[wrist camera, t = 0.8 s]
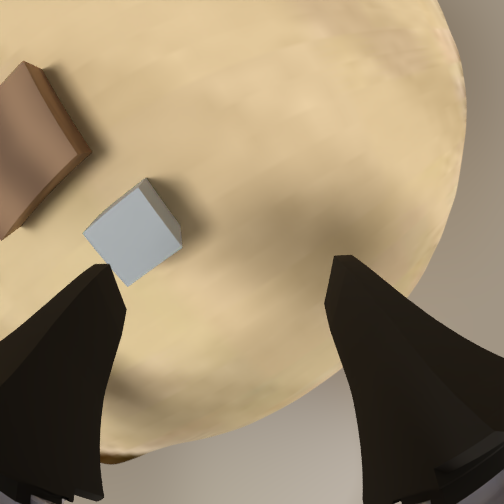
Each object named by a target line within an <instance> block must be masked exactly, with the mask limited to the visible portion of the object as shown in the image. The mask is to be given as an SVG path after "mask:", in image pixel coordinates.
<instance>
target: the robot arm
mask: <svg viewBox="0 0 504 504" xmlns="http://www.w3.org/2000/svg"><path fill="white" fill-rule="evenodd" d="M324 305H325V309H326V314H327V319H328V323H329V327H330V331H331V334H332V337H333V340H334V343H335V345H336V348H337V351H338V354H339V357H340V360H341V362H342V365H343V368H344V371H345V374H346V377H347V380H348V383H349V386H350V390H351V393H352V397H353V402H354V407H355V412H356V418H357V424H358V431H359V438H360V446H361V456H362V471H363V504H394V503H397V502H399V501H401V502H402V504H504V358H503V357H500V356H498V355H496V354H494V353H492V352H490V351H488V350H486V349H484V348H482V347H480V346H478V345H476V344H474V343H473V342H471V341H469V340H467V339H466V338H464V337H462V336H460V335H459V334H457V333H456V332H454V331H452V330H451V329H449V328H448V327H446V326H445V325H443V324H442V323H440V322H439V321H437V320H435V319H434V318H433V317H431V316H430V315H428V314H427V313H426V312H424V311H423V310H422V309H420V308H419V307H418V306H416V305H415V304H414V303H412V302H411V301H410V300H408V299H407V298H406V297H405V296H403V295H402V294H401V293H400V292H398V291H397V290H396V289H395V288H393V287H392V286H391V285H390V284H388V283H387V282H386V281H385V280H383V279H382V278H381V277H380V276H378V275H377V274H376V273H375V272H374V271H372V270H371V269H370V268H369V267H367V266H366V265H365V264H363V263H362V262H361V261H359V260H358V259H357V258H355V257H354V256H352V255H340V256H334V259H333V264H332V269H331V274H330V279H329V284H328V289H327V293H326V298H325V302H324ZM126 310H127V309H126V307H125V304H124V302H123V299H122V297H121V294H120V291H119V289H118V286H117V283H116V280H115V278H114V275H113V272H112V269H111V266H110V264H94V265H93V266H91V267H90V268H88V269H87V270H86V271H84V272H83V273H82V274H80V275H79V276H78V277H77V278H76V279H74V280H73V281H72V282H71V283H70V284H68V285H67V286H66V287H65V288H64V289H63V290H61V291H60V292H59V293H58V294H57V295H56V296H55V297H53V298H52V299H51V300H50V301H49V302H48V303H47V304H45V305H44V306H43V307H42V308H41V309H40V310H38V311H37V312H36V313H35V314H34V315H33V316H31V317H30V318H29V319H28V320H27V321H26V322H24V323H23V324H22V325H21V326H20V327H18V328H17V329H16V330H15V331H13V332H12V333H11V334H9V335H8V336H7V337H5V338H4V339H3V340H1V341H0V504H64V501H65V500H67V501H69V502H73V500H74V495H77V496H80V497H83V498H86V499H90V500H93V501H99V500H101V499H103V498H104V493H103V486H102V479H101V470H100V427H101V416H102V407H103V400H104V395H105V390H106V386H107V383H108V379H109V376H110V372H111V369H112V365H113V362H114V359H115V355H116V352H117V349H118V346H119V342H120V339H121V336H122V331H123V326H124V321H125V315H126Z"/></svg>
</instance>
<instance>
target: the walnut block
mask: <svg viewBox="0 0 504 504" xmlns="http://www.w3.org/2000/svg"><path fill="white" fill-rule="evenodd" d="M91 153H92V151H91V149H90V148H89V146H88V145H87V143H86V142H85V140H84V139H83V137H82V136H81V134H80V132H79V131H78V129H77V128H76V126H75V125H74V123H73V122H72V120H71V118H70V117H69V115H68V113H67V112H66V110H65V109H64V107H63V105H62V104H61V102H60V100H59V99H58V97H57V95H56V93H55V92H54V90H53V88H52V87H51V85H50V83H49V81H48V79H47V78H46V76H45V74H44V72H43V70H42V69H40V68H38V67H36V66H34V65H32V64H29V63H27V62H25V61H22V62H21V63H20V64H19V65H18V66H17V67H16V69H15V70H14V71H13V72H12V73H11V74H10V75H9V76H8V77H7V78H6V79H5V81H4V82H3V83H2V84H1V85H0V239H1V241H2V240H3V239H4V238H6V237H7V236H8V235H10V234H11V233H12V232H14V231H15V230H16V229H18V228H19V227H21V225H22V224H23V223H24V222H25V220H26V219H27V218H28V217H29V216H30V214H31V213H32V212H33V211H34V210H35V209H36V208H37V206H38V205H39V204H40V203H41V202H42V201H43V200H44V199H45V197H46V196H47V195H48V194H49V193H50V192H51V191H52V190H53V189H54V188H55V187H56V186H57V185H58V184H59V183H60V182H61V181H62V180H63V179H64V178H65V177H66V176H67V175H68V174H69V173H70V172H71V171H72V170H73V169H74V168H75V167H76V166H77V165H78V164H80V163H81V162H82V161H83V160H84V159H85V158H86V157H87V156H88V155H90V154H91Z"/></svg>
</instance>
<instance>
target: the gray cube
mask: <svg viewBox="0 0 504 504" xmlns="http://www.w3.org/2000/svg"><path fill="white" fill-rule="evenodd" d="M83 235H84V236H85V237H86V238H87V240H88V241H89V242H90V244H91V245H92V246H93V247H94V249H95V250H96V251H97V252H98V253H99V255H100V256H101V257H102V258H103V259H104V261H105V262H106V263H107V264H110V266H111V269H112V270H113V271H114V272H115V273H116V275H117V276H118V277H119V278H120V279H121V280H122V281H123V282H124V284H125V285H126V286H127V287H128V286H130V285H131V284H132V283H134V282H135V281H136V280H138V279H139V278H141V277H142V276H143V275H145V274H146V273H147V272H149V271H150V270H152V269H153V268H154V267H156V266H157V265H159V264H160V263H161V262H163V261H164V260H166V259H167V258H168V257H170V256H171V255H173V254H174V253H175V252H177V251H178V250H180V249H181V248H183V247H182V237H181V226H180V224H179V223H178V222H177V220H176V219H175V218H174V216H173V215H172V213H171V212H170V211H169V209H168V208H167V206H166V205H165V204H164V202H163V201H162V199H161V198H160V197H159V195H158V194H157V192H156V191H155V190H154V188H153V187H152V185H151V184H150V182H149V181H148V180H147V178H145V179H143V180H142V181H141V182H139V183H138V184H137V185H135V186H134V187H133V188H132V189H130V190H129V191H128V192H126V193H125V194H124V195H123V196H121V197H120V198H119V199H118V200H116V201H115V202H114V203H113V204H111V205H110V206H109V207H108V208H107V209H105V210H104V211H103V212H102V213H101V214H100V215H99V216H98V217H97V218H96V219H95V220H94V221H93V222H92V223H91V224H90V225H89V227H88V228H87V229H86V230H85V231H84V232H83Z"/></svg>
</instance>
